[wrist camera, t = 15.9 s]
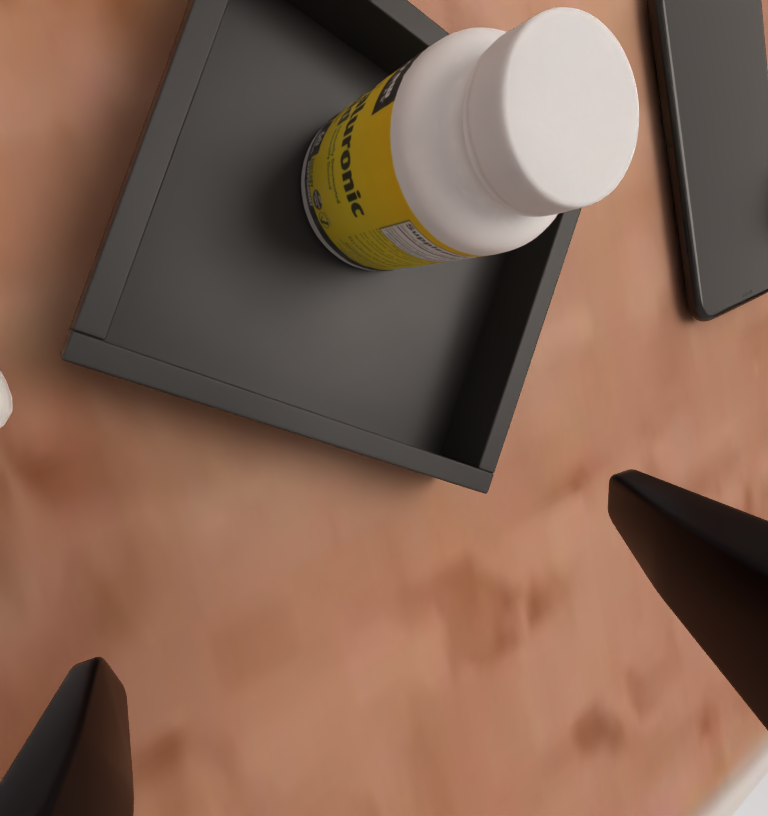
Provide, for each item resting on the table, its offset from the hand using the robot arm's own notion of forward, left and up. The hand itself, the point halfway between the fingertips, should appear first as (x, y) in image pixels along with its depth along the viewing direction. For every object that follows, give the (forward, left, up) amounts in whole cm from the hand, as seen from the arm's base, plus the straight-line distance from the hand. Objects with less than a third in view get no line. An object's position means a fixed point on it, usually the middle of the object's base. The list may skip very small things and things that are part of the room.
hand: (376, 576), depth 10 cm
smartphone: (+21, -19, -12) cm, 31 cm away
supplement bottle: (+10, -2, -11) cm, 15 cm away
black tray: (+8, -2, -12) cm, 14 cm away
